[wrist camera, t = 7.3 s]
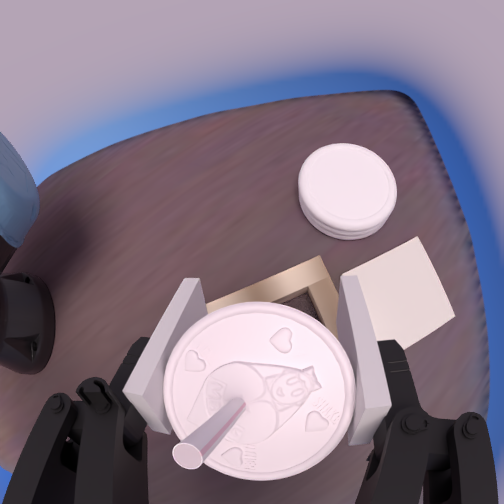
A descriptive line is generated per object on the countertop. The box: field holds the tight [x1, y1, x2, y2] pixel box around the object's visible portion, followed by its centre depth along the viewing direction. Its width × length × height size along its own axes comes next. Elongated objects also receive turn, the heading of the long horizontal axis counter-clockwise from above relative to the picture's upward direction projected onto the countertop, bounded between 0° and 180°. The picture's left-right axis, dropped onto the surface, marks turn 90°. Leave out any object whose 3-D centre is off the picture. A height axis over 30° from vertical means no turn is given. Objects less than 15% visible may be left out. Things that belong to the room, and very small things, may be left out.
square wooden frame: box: [206, 255, 339, 341], centre depth 23 cm, size 13×13×3 cm
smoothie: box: [163, 302, 356, 480], centre depth 10 cm, size 6×6×14 cm
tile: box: [341, 237, 455, 350], centre depth 24 cm, size 9×9×1 cm
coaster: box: [298, 143, 397, 240], centre depth 27 cm, size 10×10×4 cm
